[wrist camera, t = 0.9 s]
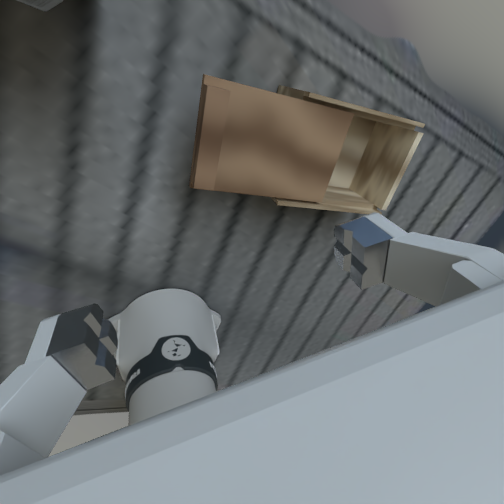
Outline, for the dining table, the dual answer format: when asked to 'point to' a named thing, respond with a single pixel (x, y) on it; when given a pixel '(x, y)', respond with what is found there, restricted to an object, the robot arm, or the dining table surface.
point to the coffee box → (41, 3)
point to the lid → (265, 142)
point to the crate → (363, 158)
